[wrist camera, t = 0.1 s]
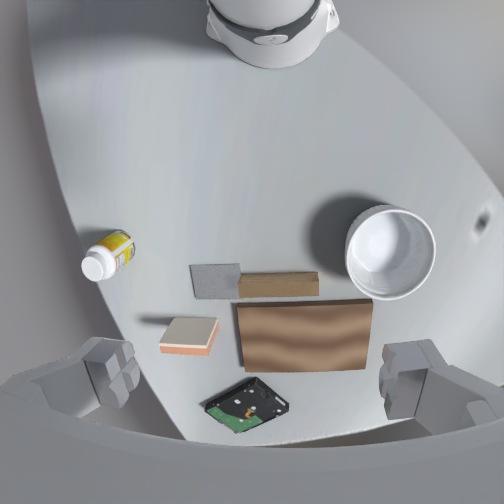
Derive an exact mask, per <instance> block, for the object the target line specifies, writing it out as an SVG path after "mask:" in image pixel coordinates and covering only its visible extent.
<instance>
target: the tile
mask: <svg viewBox="0 0 504 504" xmlns="http://www.w3.org/2000/svg"><path fill="white" fill-rule="evenodd" d="M218 329H219V325H218V319H217V318H186V317H174V319H173V320H172V322H171V324H170V325H169V327H168V329H167V330H166V332H165V333H164V335H163V337H162V338H161V340H160V342H159V346H160V349H161V352H162V353H172V354H187V355H207V356H208V355H209V352H210V350H211V347H212V345H213V342H214V339H215V337H216V334H217V331H218Z"/></svg>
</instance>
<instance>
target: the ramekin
mask: <svg viewBox="0 0 504 504" xmlns="http://www.w3.org/2000/svg"><path fill="white" fill-rule="evenodd" d="M435 255H436V245H435V239H434V236H433V233H432V231H431V229H430V227H429V226H428V224H427V223H426V222H425V221H424V220H423V219H422V218H421V217H420V216H419V215H417V214H416V213H414V212H412V211H410V210H408V209H405V208H401V207H397V206H393V205H379V206H375V207H371V208H369V209H367V210H365V211H364V212H362V213H361V214H360V215H359V216H358V217H357V218H356V219H355V220H354V222H353V223H352V224H351V227H350V228H349V230H348V233H347V238H346V244H345V265H346V269H347V272H348V274H349V277H350V279H351V281H352V282H353V284H354V285H355V286H356V287H357V288H358V289H359V290H360V291H361V292H362V293H364V294H365V295H367V296H369V297H371V298H374V299H378V300H394V299H399V298H402V297H404V296H407V295H408V294H410V293H412V292H413V291H415V290H416V289H417V288H418V287H419V286H421V284H422V283H423V282H424V281H425V280H426V278H427V277H428V275H429V274H430V272H431V270H432V267H433V264H434V261H435Z"/></svg>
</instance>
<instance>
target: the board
mask: <svg viewBox="0 0 504 504" xmlns="http://www.w3.org/2000/svg"><path fill="white" fill-rule="evenodd" d="M372 311H373V301H372V299H358V300H337V301H311V302H274V303H238V305H237V313H238V321H239V329H240V336H241V344H242V352H243V359H244V367H245V372H323V371H344V370H360V369H365V367H366V360H367V353H368V345H369V338H370V329H371V321H372Z"/></svg>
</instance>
